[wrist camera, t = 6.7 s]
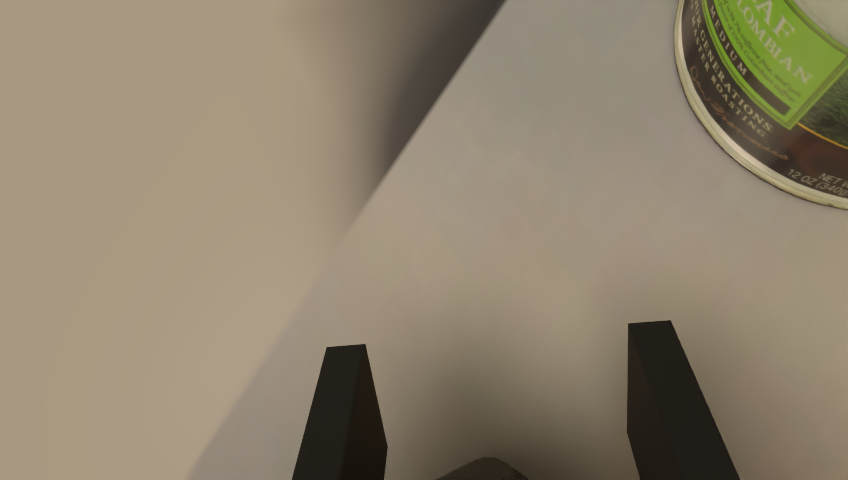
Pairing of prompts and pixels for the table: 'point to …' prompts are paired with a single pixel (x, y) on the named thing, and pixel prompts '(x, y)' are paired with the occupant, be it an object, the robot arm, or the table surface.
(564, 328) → the table surface
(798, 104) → the coffee can
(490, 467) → the walkie-talkie
